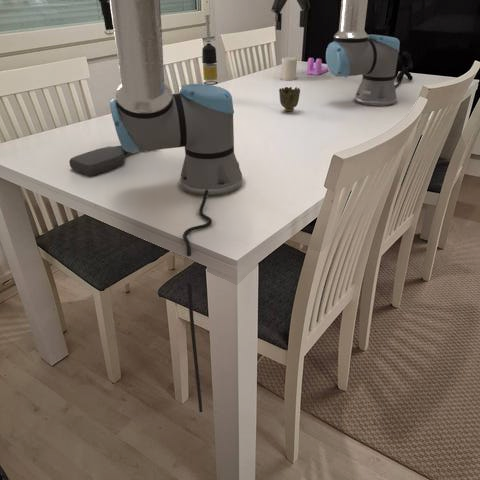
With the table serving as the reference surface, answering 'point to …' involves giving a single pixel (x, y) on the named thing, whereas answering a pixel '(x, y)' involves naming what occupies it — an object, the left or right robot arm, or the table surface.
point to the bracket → (317, 69)
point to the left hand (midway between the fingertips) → (127, 31)
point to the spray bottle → (99, 160)
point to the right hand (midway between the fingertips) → (290, 28)
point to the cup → (289, 98)
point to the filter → (209, 58)
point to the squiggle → (404, 70)
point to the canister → (289, 68)
